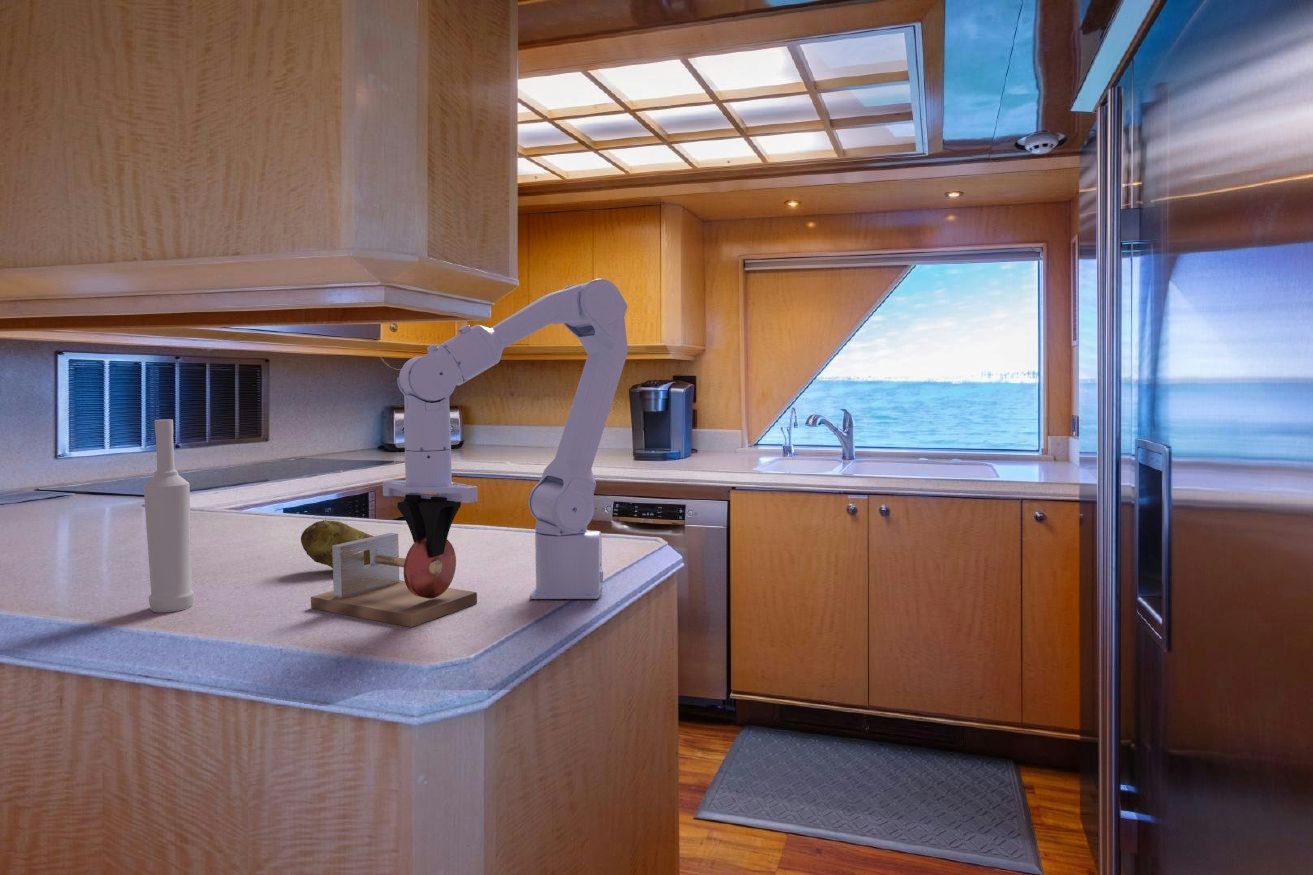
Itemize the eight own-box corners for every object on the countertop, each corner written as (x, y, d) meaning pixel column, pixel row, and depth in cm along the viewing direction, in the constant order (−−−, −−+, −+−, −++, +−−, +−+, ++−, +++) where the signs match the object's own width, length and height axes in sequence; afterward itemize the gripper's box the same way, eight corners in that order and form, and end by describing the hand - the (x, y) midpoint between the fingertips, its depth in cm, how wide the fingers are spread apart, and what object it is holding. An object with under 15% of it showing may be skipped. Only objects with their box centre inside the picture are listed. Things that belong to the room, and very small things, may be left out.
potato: (372, 577, 123) (370, 526, 122) (293, 575, 125) (291, 524, 124) (396, 565, 131) (395, 516, 131) (322, 563, 133) (321, 515, 132)
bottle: (185, 599, 111) (177, 418, 109) (201, 606, 107) (193, 419, 106) (143, 608, 107) (134, 420, 105) (158, 615, 103) (149, 421, 102)
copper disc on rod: (352, 594, 106) (350, 534, 105) (398, 581, 113) (396, 524, 112) (414, 605, 100) (412, 542, 100) (458, 590, 107) (457, 531, 107)
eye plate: (333, 598, 106) (332, 545, 105) (391, 581, 115) (390, 532, 114) (341, 599, 105) (340, 546, 105) (399, 582, 114) (398, 533, 113)
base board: (311, 607, 107) (310, 596, 106) (381, 587, 117) (380, 577, 117) (411, 627, 98) (411, 615, 98) (477, 603, 109) (476, 592, 109)
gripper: (363, 449, 103) (366, 554, 104) (449, 454, 96) (451, 566, 97) (404, 445, 109) (406, 544, 110) (487, 449, 102) (489, 555, 103)
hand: (430, 554), depth 104 cm, fingers closed on copper disc on rod
